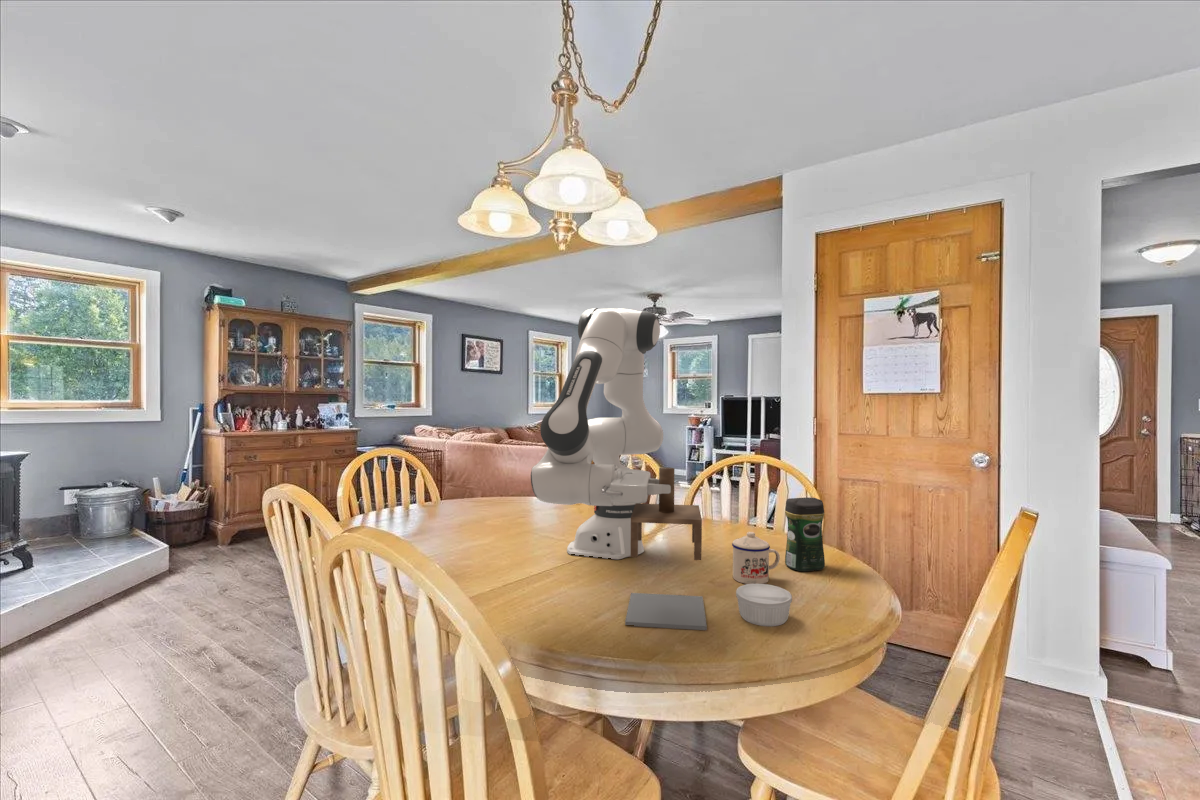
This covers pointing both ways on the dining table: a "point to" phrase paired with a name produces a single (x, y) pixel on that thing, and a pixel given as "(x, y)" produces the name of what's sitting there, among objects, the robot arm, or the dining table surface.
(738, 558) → the teacup with lid
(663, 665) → the dining table surface
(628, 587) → the dining table surface
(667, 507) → the walnut cover
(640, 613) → the grey rubber mat
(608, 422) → the robot arm
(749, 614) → the ramekin
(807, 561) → the coffee jar
